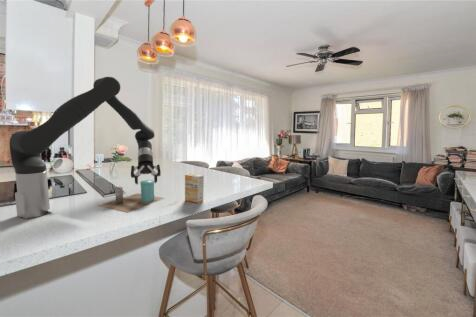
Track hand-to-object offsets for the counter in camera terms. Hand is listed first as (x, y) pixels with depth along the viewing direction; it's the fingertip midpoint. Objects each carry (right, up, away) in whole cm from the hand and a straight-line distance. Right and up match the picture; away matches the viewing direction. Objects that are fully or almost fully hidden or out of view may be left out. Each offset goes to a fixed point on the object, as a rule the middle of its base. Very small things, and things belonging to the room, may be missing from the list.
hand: (146, 183), depth 118 cm
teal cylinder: (+4, -7, -8) cm, 11 cm away
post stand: (-2, -9, -10) cm, 14 cm away
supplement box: (+25, -9, -2) cm, 26 cm away
